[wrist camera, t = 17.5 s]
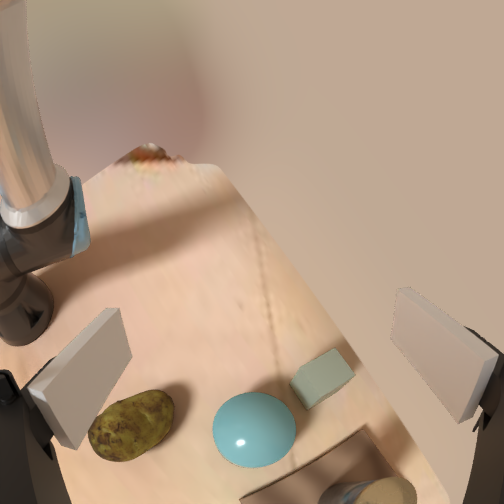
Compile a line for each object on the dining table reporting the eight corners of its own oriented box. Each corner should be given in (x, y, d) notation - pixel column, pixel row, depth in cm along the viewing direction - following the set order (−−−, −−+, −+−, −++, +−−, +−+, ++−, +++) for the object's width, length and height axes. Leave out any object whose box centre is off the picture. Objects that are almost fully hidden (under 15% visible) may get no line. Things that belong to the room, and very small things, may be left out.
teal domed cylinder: (234, 479, 29) (236, 480, 25) (202, 419, 35) (199, 410, 31) (299, 448, 33) (310, 442, 28) (265, 393, 39) (271, 380, 34)
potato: (195, 438, 33) (189, 429, 27) (116, 470, 27) (93, 466, 21) (167, 390, 37) (157, 371, 32) (93, 420, 32) (69, 405, 26)
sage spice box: (306, 410, 37) (320, 397, 32) (289, 384, 40) (300, 366, 35) (338, 391, 39) (355, 374, 34) (320, 366, 42) (335, 347, 37)
